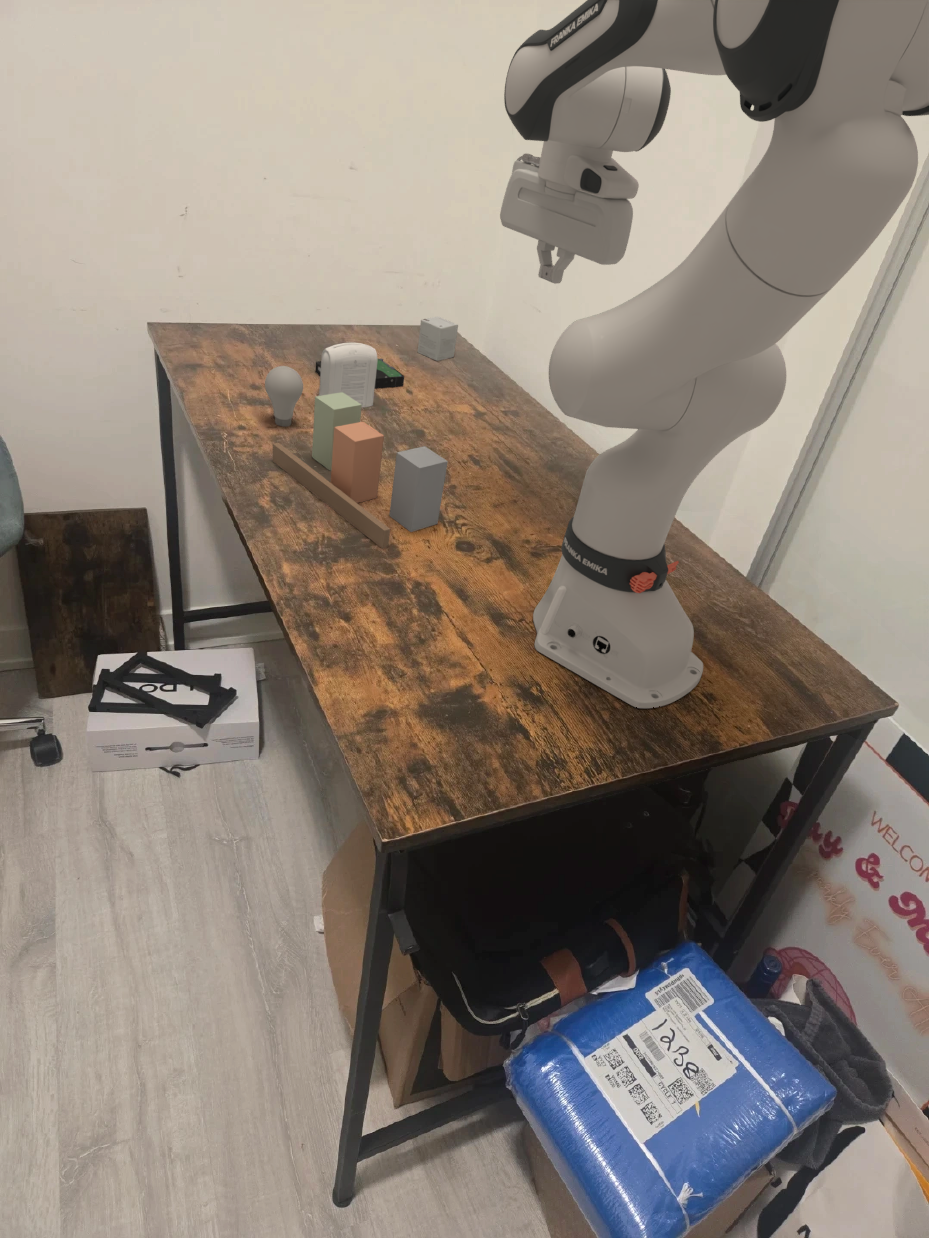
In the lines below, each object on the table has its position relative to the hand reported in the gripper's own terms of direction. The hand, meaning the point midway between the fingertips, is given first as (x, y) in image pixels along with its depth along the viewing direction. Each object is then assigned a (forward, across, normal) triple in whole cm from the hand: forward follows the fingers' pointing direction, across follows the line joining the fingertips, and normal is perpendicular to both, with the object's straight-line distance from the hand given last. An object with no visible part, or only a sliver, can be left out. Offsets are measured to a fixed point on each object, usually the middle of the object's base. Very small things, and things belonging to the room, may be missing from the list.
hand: (549, 280), depth 109 cm
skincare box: (+33, -54, +31) cm, 71 cm away
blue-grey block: (+32, +2, -21) cm, 38 cm away
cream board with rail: (+33, -8, -21) cm, 40 cm away
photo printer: (+33, -36, -6) cm, 49 cm away
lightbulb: (+33, -33, -21) cm, 51 cm away
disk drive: (+34, -48, +6) cm, 59 cm away
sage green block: (+32, -18, -21) cm, 42 cm away
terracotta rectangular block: (+32, -8, -24) cm, 41 cm away
